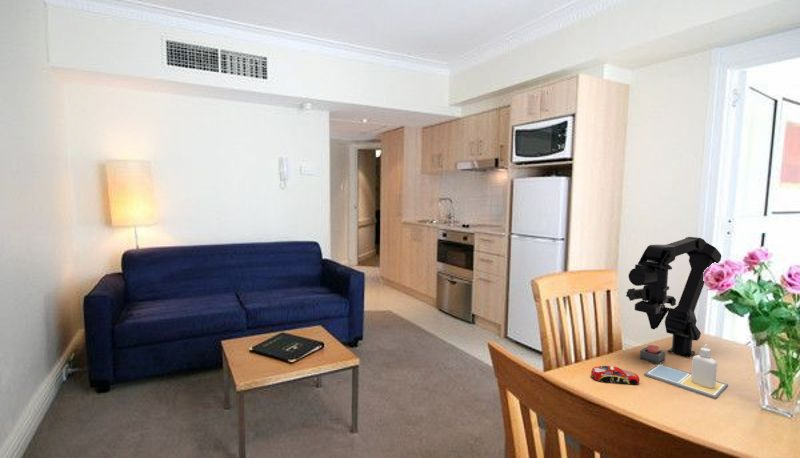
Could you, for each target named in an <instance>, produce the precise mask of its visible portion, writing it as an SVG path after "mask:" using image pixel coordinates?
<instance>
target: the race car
mask: <svg viewBox="0 0 800 458" xmlns="http://www.w3.org/2000/svg"><path fill="white" fill-rule="evenodd" d="M591 369H592V370H591V372H590V375H591V376H592V378H593V379H594V380H595V381H598V382H602V383H610V384H611V383H612V384H622V385H623V384H625V385H631V386H636V385H639V383H640V376H639V375H638V374H637V373H635V372H632V371H631V370H630V371H629V370H624V369H622V368H620V367H617V366H616V365H615V366H614V365H600V366H594V367H592V368H591Z"/></svg>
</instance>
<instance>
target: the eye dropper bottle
mask: <svg viewBox="0 0 800 458" xmlns="http://www.w3.org/2000/svg"><path fill="white" fill-rule="evenodd" d="M699 349H700V350H699V354H696V355H694V356H693V357H692V362H691V364H692V365H691V373H692V374H691V380H692V382H694V383H696V384H698V385H700V386H703V387H707V388H714V387H715V384H716V381H717V371H718V370H717V369H718V363H717V361H716V360H715V359H713V358H712V357H711V356H712V355H711V354H712V353H711V352H712V349H710V348H709V347H708V344H703V347H700V348H699Z"/></svg>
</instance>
